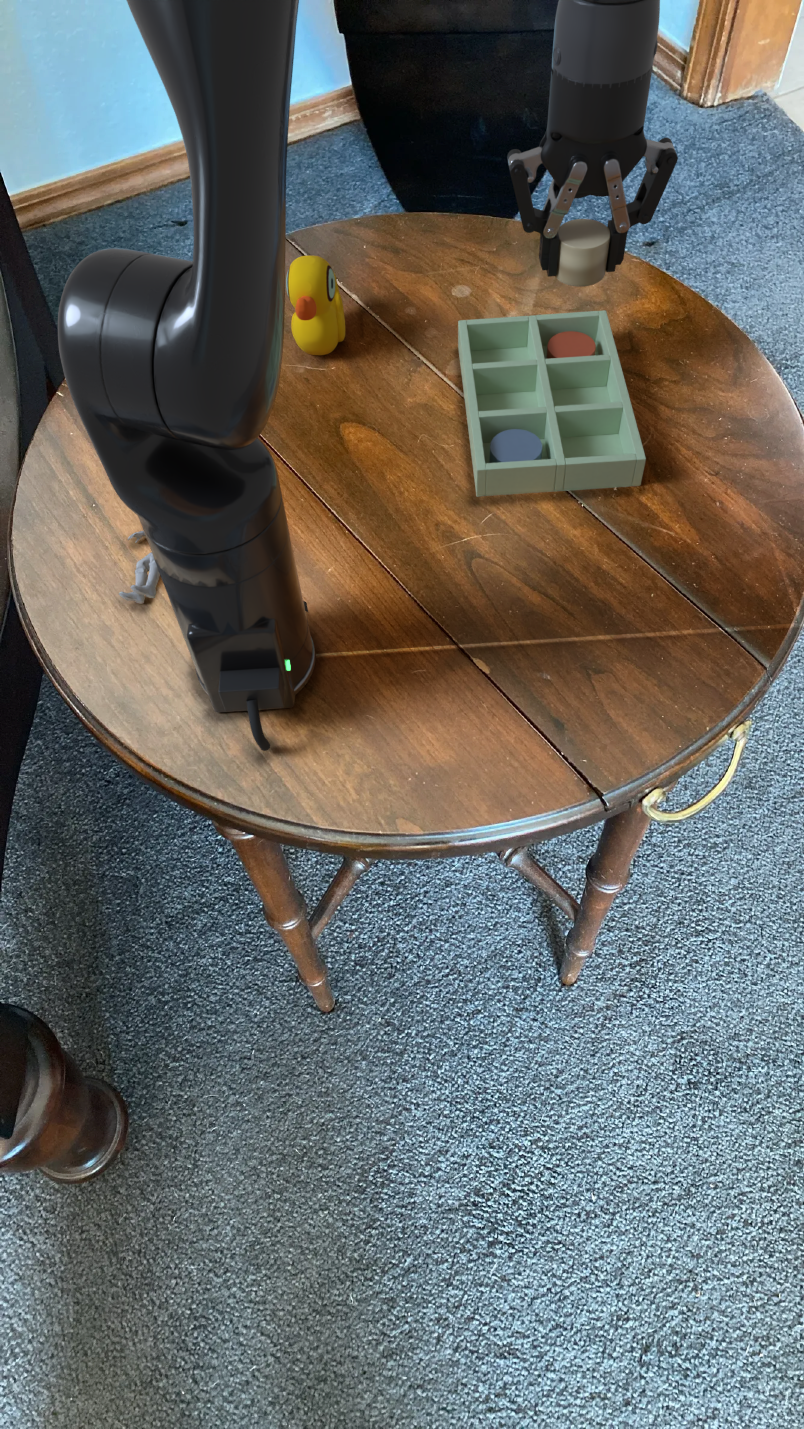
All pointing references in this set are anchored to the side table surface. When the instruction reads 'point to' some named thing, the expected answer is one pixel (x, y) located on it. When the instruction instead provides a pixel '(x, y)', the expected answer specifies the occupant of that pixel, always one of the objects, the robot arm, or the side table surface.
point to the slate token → (515, 446)
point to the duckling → (315, 305)
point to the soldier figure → (143, 576)
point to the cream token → (582, 252)
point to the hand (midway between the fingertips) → (579, 268)
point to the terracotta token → (570, 345)
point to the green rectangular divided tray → (548, 405)
